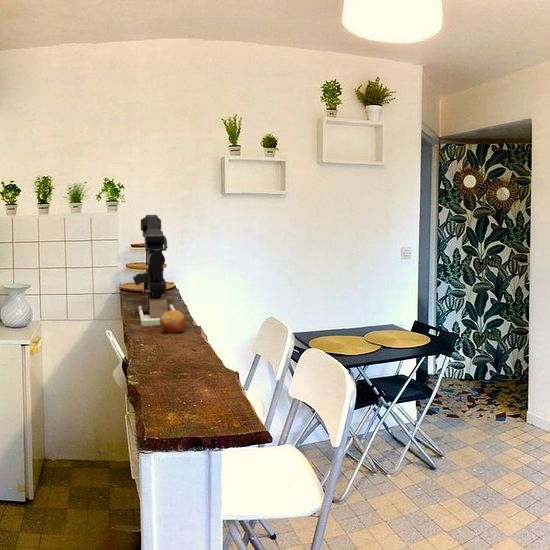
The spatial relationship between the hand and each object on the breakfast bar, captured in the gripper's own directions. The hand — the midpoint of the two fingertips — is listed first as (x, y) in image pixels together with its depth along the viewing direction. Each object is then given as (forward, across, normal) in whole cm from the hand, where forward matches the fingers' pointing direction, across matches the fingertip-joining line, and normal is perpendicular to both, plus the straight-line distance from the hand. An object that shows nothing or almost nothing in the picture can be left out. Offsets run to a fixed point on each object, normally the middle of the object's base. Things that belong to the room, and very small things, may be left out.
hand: (156, 305), depth 198 cm
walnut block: (+2, +10, 0) cm, 10 cm away
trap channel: (+3, +9, 0) cm, 10 cm away
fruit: (+3, +33, +3) cm, 33 cm away
